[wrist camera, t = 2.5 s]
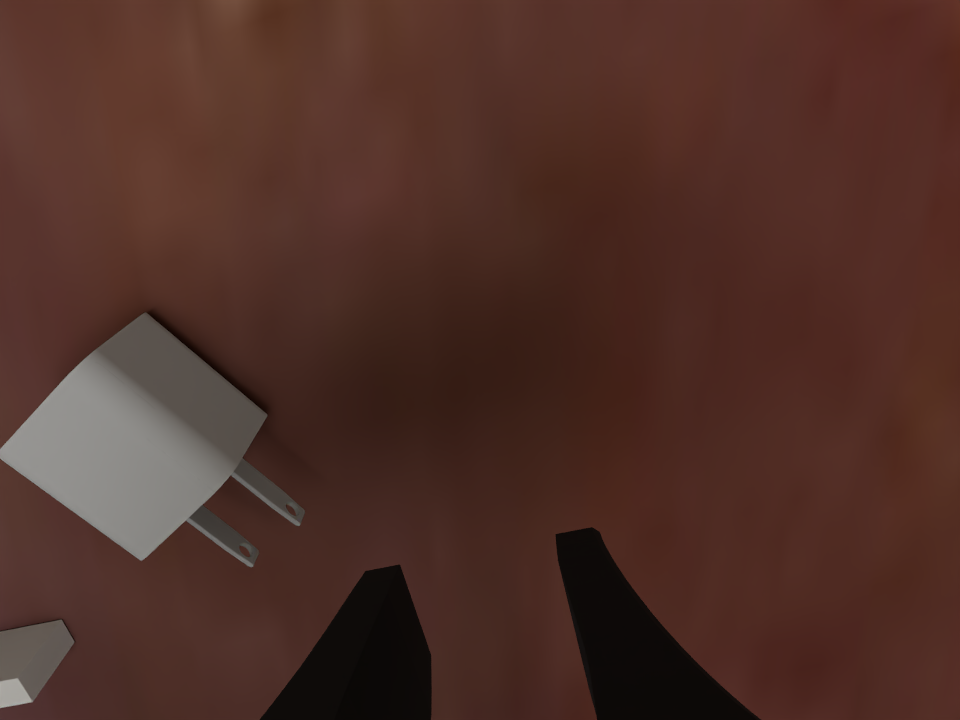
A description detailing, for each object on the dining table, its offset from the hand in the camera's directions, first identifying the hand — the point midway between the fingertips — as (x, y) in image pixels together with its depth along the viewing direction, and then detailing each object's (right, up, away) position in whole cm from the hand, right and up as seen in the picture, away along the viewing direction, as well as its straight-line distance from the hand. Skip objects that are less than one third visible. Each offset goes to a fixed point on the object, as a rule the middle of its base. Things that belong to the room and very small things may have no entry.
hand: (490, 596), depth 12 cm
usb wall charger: (-8, +2, +10) cm, 13 cm away
